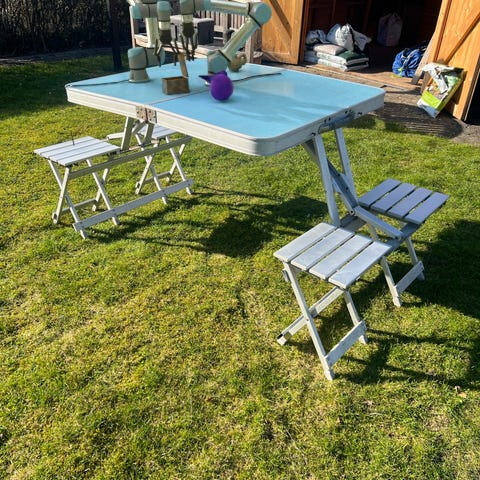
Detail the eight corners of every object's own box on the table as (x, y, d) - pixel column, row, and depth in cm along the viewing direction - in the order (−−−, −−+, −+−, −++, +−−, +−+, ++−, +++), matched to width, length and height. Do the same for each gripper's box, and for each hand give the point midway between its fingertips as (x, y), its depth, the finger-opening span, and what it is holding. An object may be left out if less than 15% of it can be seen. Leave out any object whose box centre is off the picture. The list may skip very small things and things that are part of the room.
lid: (181, 52, 289) (193, 49, 292) (176, 50, 298) (188, 47, 300) (187, 77, 298) (199, 74, 301) (182, 75, 307) (193, 71, 309)
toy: (220, 92, 299) (233, 106, 278) (195, 88, 292) (206, 102, 271) (226, 68, 291) (240, 80, 270) (200, 63, 284) (212, 75, 263)
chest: (167, 94, 298) (166, 80, 293) (162, 91, 307) (161, 78, 302) (189, 92, 303) (188, 78, 299) (184, 88, 312) (183, 75, 307)
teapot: (227, 73, 359) (226, 53, 351) (220, 71, 367) (219, 51, 360) (250, 70, 368) (249, 51, 360) (242, 68, 376) (242, 49, 369)
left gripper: (149, 30, 277) (152, 68, 288) (183, 28, 285) (185, 66, 296) (146, 29, 283) (149, 66, 294) (180, 27, 291) (182, 64, 302)
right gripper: (178, 23, 282) (182, 63, 294) (200, 21, 287) (203, 60, 299) (174, 22, 288) (178, 61, 300) (196, 20, 293) (199, 58, 305)
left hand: (167, 66), depth 295 cm, fingers open, 10 cm apart
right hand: (191, 60), depth 300 cm, fingers closed on lid, 2 cm apart
